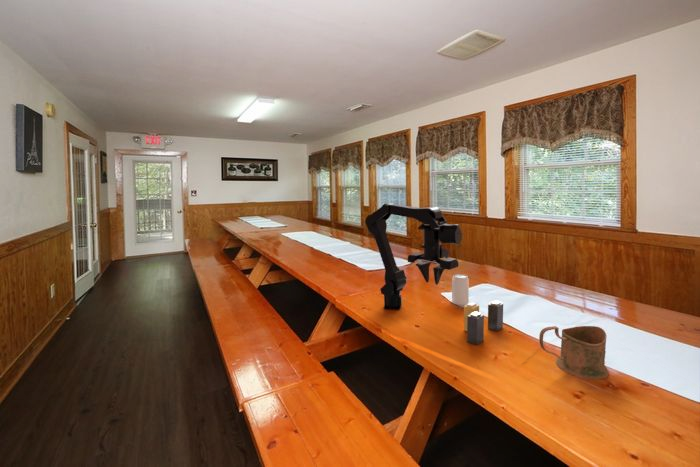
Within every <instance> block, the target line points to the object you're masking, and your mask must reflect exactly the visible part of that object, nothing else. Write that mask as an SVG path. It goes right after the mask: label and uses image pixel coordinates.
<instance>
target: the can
mask: <svg viewBox="0 0 700 467" xmlns="http://www.w3.org/2000/svg"><path fill="white" fill-rule="evenodd" d="M452 276H453V277H452V279H451V303H452V304H453V305H458V306H465V305H467V304H468V303H470V301H469V300H470V298H469V297H470V296H469V295H470V292H469V291H470V287H469V286H470V283H469V282H470V280H469V278H468V277H469V276H468V274H467V275H466V274H464V273H456V274H453V275H452Z"/></svg>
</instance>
